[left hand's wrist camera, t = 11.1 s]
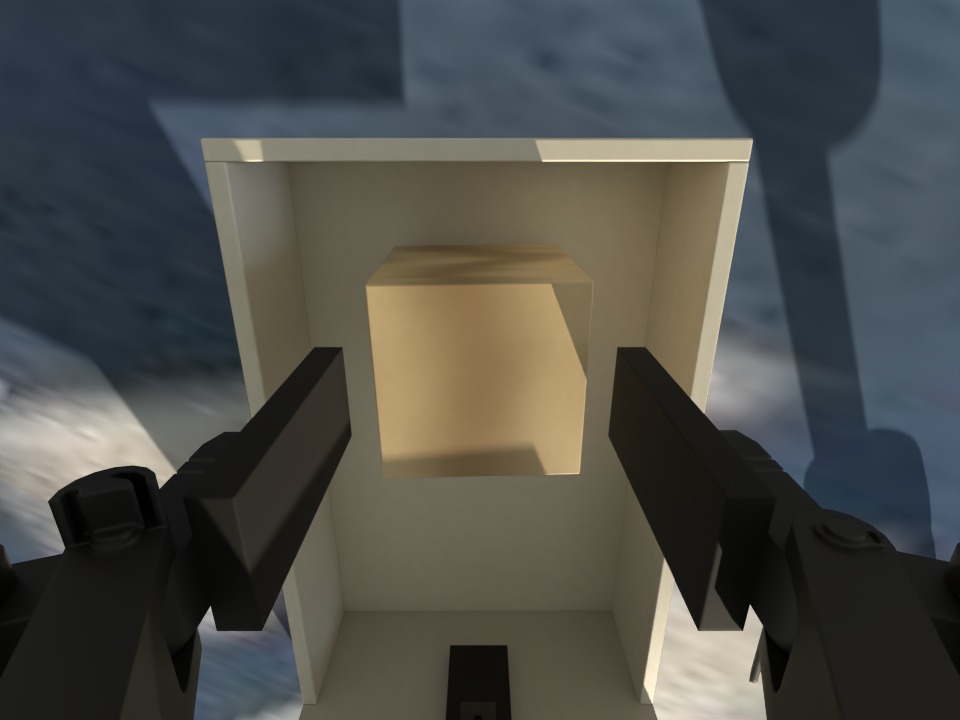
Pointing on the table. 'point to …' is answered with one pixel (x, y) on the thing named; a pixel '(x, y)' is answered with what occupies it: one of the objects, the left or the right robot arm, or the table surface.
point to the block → (479, 360)
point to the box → (478, 499)
